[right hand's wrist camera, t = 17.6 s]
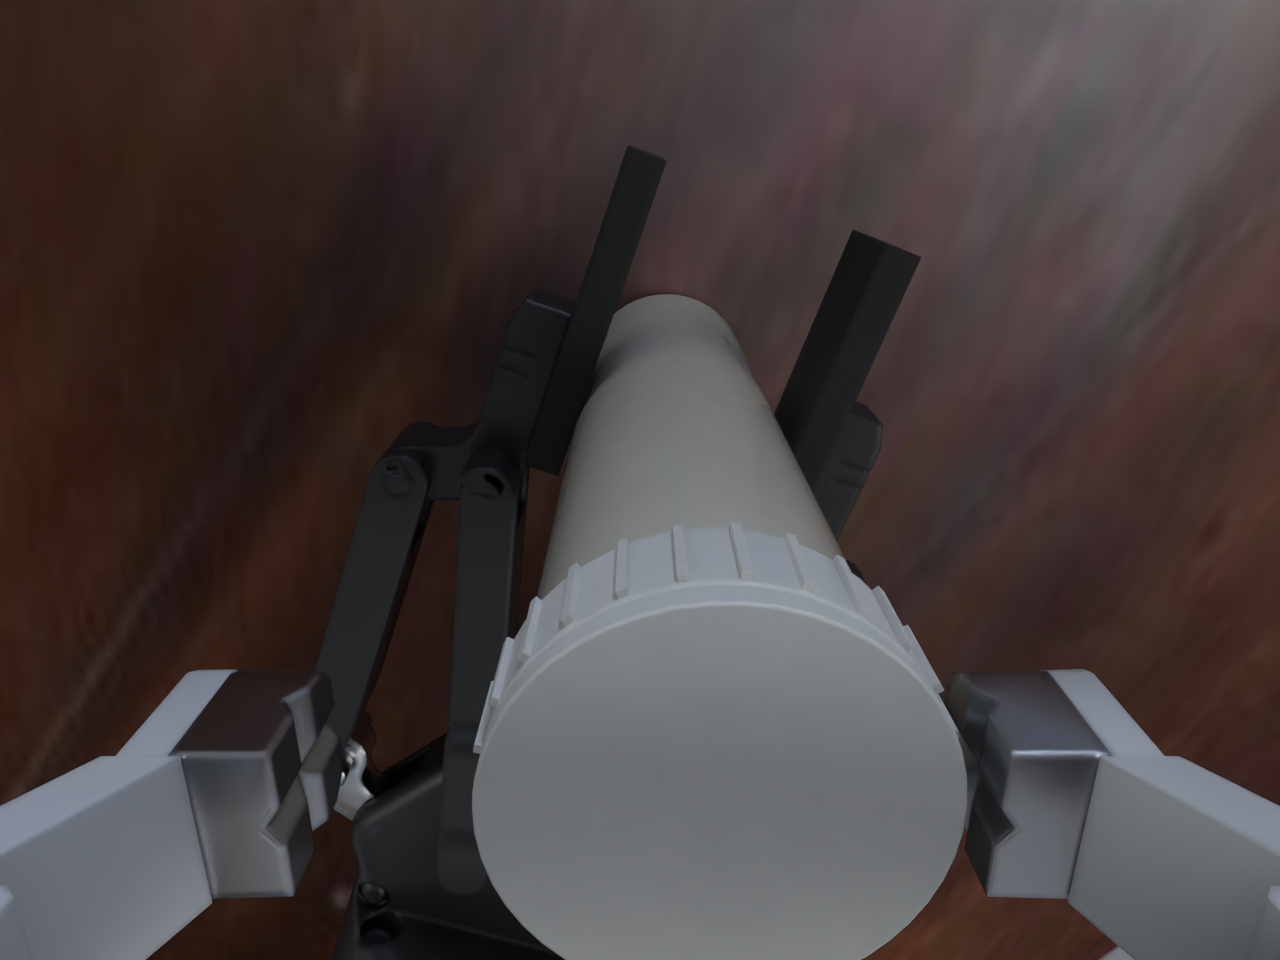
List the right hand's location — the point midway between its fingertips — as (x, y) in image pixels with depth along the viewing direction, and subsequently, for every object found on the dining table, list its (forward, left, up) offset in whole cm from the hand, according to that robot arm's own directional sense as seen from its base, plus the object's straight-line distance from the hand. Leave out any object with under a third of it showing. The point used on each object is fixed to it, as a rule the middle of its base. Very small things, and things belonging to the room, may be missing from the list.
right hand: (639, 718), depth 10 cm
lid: (0, +1, +2) cm, 2 cm away
